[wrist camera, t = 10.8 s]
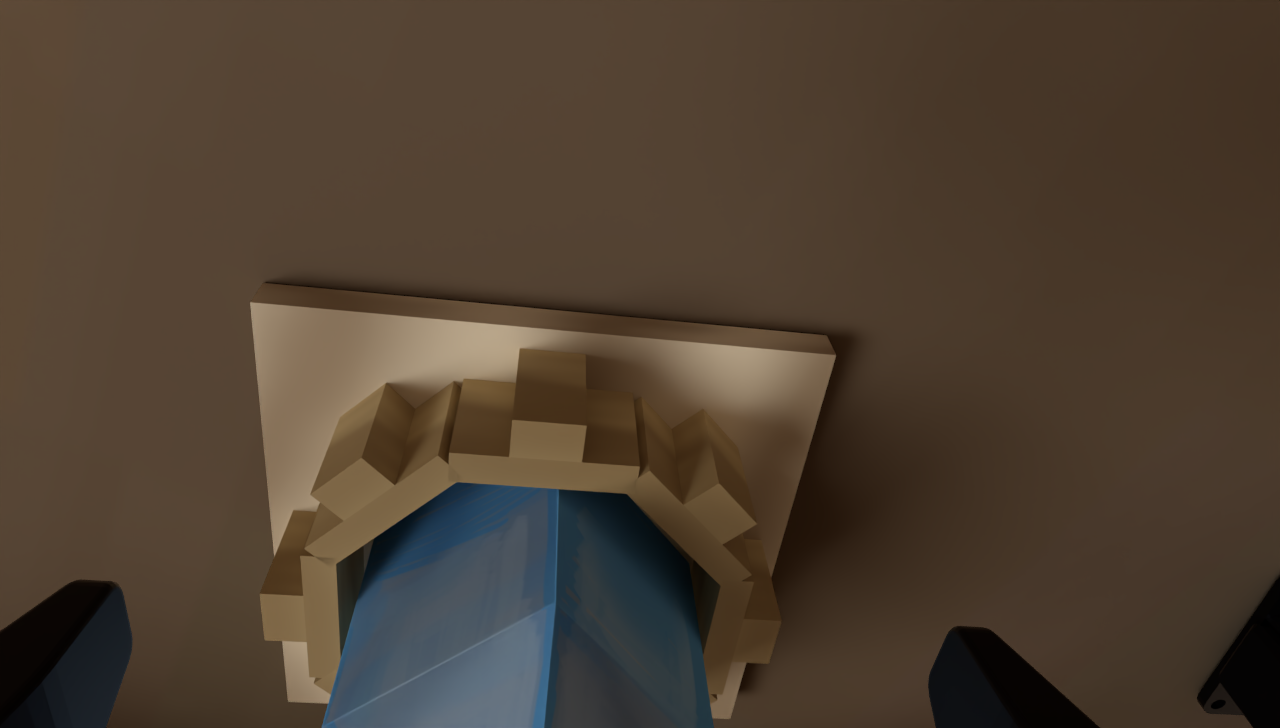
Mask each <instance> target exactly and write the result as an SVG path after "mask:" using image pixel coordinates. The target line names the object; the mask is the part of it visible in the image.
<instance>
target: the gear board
mask: <svg viewBox="0 0 1280 728" xmlns="http://www.w3.org/2000/svg"><path fill="white" fill-rule="evenodd" d="M250 305H251V316H252V326H253V337H254V347H255V358H256V368H257V379H258V390H259V400H260V411H261V421H262V432H263V442H264V453H265V463H266V474H267V485H268V495H269V506H270V516H271V527H272V537H273V548H274V559H273V562H272V564H271V567H270V569H269V572H268V574H267V577H266V579H265V582H264V584H263V587H262V589H261V592H260V602H261V611H262V620H263V629H264V638H265V640H269V641H282V643H283V653H284V664H285V674H286V685H287V696H288V702H305V703H329V699H330V696H331V692H332V689H333V685H334V681H335V678H336V674H337V670H338V667H339V663H340V660H341V656H342V652H343V649H344V645H345V642H346V638H347V634H348V631H349V627H350V624H351V620H352V616H353V613H354V609H355V605H356V602H357V598H358V595H359V591H360V587H361V584H362V580H363V577H364V573H365V569H366V566H367V562H368V558H369V555H370V551H371V548H372V544H373V540H374V538H375V537H377V536H378V535H380V534H381V533H383V532H384V531H385V530H387V529H388V528H390V527H391V526H393V525H394V524H396V523H397V522H399V521H400V520H402V519H403V518H405V517H406V516H408V515H409V514H411V513H412V512H413V511H415V510H416V509H418V508H419V507H421V506H422V505H424V504H425V503H427V502H428V501H430V500H431V499H433V498H434V497H436V496H437V495H439V494H440V493H441V492H443V491H444V490H446V489H447V488H449V487H450V486H452V485H453V484H455V483H456V482H462V483H477V484H491V485H506V486H521V487H535V488H550V489H564V490H579V491H593V492H608V493H622V494H627V495H628V496H629V497H630V498H631V499H632V500H633V501H634V502H635V504H636V505H637V506H638V507H639V508H640V509H641V510H642V511H643V512H644V514H645V515H646V516H647V517H648V518H649V519H650V520H651V521H652V522H653V524H654V525H655V526H656V527H657V528H658V529H659V530H660V531H661V532H662V534H663V535H664V536H665V537H666V538H667V539H668V540H669V541H670V542H671V544H672V545H673V546H674V547H675V548H676V549H677V550H678V551H679V552H680V554H681V555H682V556H683V557H684V558H685V559H686V560H687V561H688V562H689V566H690V572H691V579H692V586H693V592H694V599H695V606H696V612H697V619H698V626H699V632H700V639H701V646H702V652H703V659H704V666H705V672H706V679H707V686H708V692H709V699H710V706H711V712H712V718H721V719H730V717H731V714H732V711H733V707H734V704H735V700H736V697H737V693H738V690H739V687H740V683H741V680H742V676H743V673H744V669H745V666H746V663H765V664H769V661H770V658H771V655H772V651H773V648H774V645H775V642H776V639H777V635H778V632H779V629H780V626H781V622H782V620H781V616H780V612H779V608H778V604H777V600H776V596H775V592H774V588H773V584H772V580H771V577H772V574H773V570H774V567H775V563H776V560H777V556H778V553H779V550H780V546H781V543H782V539H783V536H784V532H785V529H786V526H787V522H788V519H789V515H790V512H791V508H792V505H793V502H794V498H795V495H796V491H797V488H798V484H799V481H800V478H801V474H802V471H803V467H804V464H805V460H806V457H807V454H808V450H809V447H810V443H811V440H812V437H813V433H814V430H815V426H816V423H817V419H818V416H819V413H820V409H821V406H822V402H823V399H824V395H825V392H826V389H827V385H828V382H829V378H830V375H831V371H832V368H833V365H834V361H835V358H836V354H835V352H834V350H833V348H832V345H831V343H830V341H829V339H828V337H827V335H817V334H806V333H796V332H785V331H774V330H764V329H753V328H742V327H731V326H721V325H710V324H699V323H689V322H678V321H667V320H656V319H646V318H635V317H624V316H614V315H603V314H592V313H581V312H571V311H560V310H549V309H539V308H528V307H517V306H506V305H496V304H485V303H474V302H464V301H453V300H442V299H431V298H421V297H410V296H399V295H388V294H378V293H367V292H356V291H346V290H335V289H324V288H313V287H303V286H292V285H281V284H271V283H263V284H262V285H261V287H260V288H259V290H258V291H257V293H256V294H255V296H254V297H253V299H252V300H251V302H250Z"/></svg>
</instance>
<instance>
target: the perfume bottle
mask: <svg viewBox="0 0 1280 728" xmlns="http://www.w3.org/2000/svg"><path fill="white" fill-rule="evenodd" d="M322 728H714V726H713V719H712V712H711V706H710V699H709V692H708V686H707V679H706V672H705V666H704V659H703V652H702V646H701V639H700V632H699V626H698V619H697V612H696V606H695V599H694V592H693V586H692V579H691V572H690V566H689V562H688V561H687V560H686V559H685V558H684V557H683V556H682V555H681V554H680V552H679V551H678V550H677V549H676V548H675V547H674V546H673V545H672V544H671V542H670V541H669V540H668V539H667V538H666V537H665V536H664V535H663V534H662V532H661V531H660V530H659V529H658V528H657V527H656V526H655V525H654V524H653V522H652V521H651V520H650V519H649V518H648V517H647V516H646V515H645V514H644V512H643V511H642V510H641V509H640V508H639V507H638V506H637V505H636V504H635V502H634V501H633V500H632V499H631V498H630V497H629V496H628V495H627V494H622V493H608V492H593V491H579V490H564V489H550V488H535V487H521V486H506V485H491V484H477V483H462V482H456V483H455V484H453V485H452V486H450V487H449V488H447V489H446V490H444V491H443V492H441V493H440V494H439V495H437V496H436V497H434V498H433V499H431V500H430V501H428V502H427V503H425V504H424V505H422V506H421V507H419V508H418V509H416V510H415V511H413V512H412V513H411V514H409V515H408V516H406V517H405V518H403V519H402V520H400V521H399V522H397V523H396V524H394V525H393V526H391V527H390V528H388V529H387V530H385V531H384V532H383V533H381V534H380V535H378V536H377V537H375V538H374V540H373V544H372V548H371V551H370V555H369V558H368V562H367V566H366V569H365V573H364V577H363V580H362V584H361V587H360V591H359V595H358V598H357V602H356V605H355V609H354V613H353V616H352V620H351V624H350V627H349V631H348V634H347V638H346V642H345V645H344V649H343V652H342V656H341V660H340V663H339V667H338V670H337V674H336V678H335V681H334V685H333V689H332V692H331V696H330V699H329V703H328V707H327V710H326V714H325V717H324V721H323V725H322Z"/></svg>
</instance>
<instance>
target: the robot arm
mask: <svg viewBox="0 0 1280 728" xmlns="http://www.w3.org/2000/svg"><path fill="white" fill-rule="evenodd" d="M131 651H132V633H131V628H130V623H129V619H128V614H127V610H126V605H125V600H124V596H123V592H122V589H121V587H120V586H119V585H118V584H117V583H115V582H112V581H97V580H76V581H73V582H71V583H69V584H67V585H65V586H64V587H62V588H61V589H60V590H58V591H57V592H55V593H54V594H52V595H51V596H50V597H48V598H47V599H45V600H44V601H42V602H41V603H40V604H38V605H37V606H35V607H34V608H32V609H31V610H30V611H28V612H27V613H25V614H24V615H22V616H21V617H20V618H18V619H17V620H15V621H14V622H12V623H11V624H10V625H8V626H7V627H5V628H4V629H2V630H1V631H0V728H106V726H107V723H108V720H109V717H110V714H111V711H112V708H113V706H114V703H115V700H116V697H117V694H118V691H119V688H120V685H121V683H122V680H123V677H124V674H125V671H126V668H127V665H128V663H129V659H130V655H131ZM928 688H929V697H930V702H931V706H932V711H933V716H934V721H935V726H936V728H1100V727H1099V726H1098V725H1096V724H1095V723H1094V722H1093V721H1092V720H1091V719H1090V718H1089V717H1088V716H1086V715H1085V714H1084V713H1083V712H1082V711H1081V710H1080V709H1079V708H1078V707H1076V706H1075V705H1074V704H1073V703H1072V702H1071V701H1070V700H1069V699H1068V698H1066V697H1065V696H1064V695H1063V694H1062V693H1061V692H1060V691H1059V690H1058V689H1056V688H1055V687H1054V686H1053V685H1052V684H1051V683H1050V682H1049V681H1048V680H1046V679H1045V678H1044V677H1043V676H1042V675H1041V674H1040V673H1039V672H1038V671H1036V670H1035V669H1034V668H1033V667H1032V666H1031V665H1030V664H1029V663H1028V662H1026V661H1025V660H1024V659H1023V658H1022V657H1021V656H1020V655H1019V654H1018V653H1016V652H1015V651H1014V650H1013V649H1012V648H1011V647H1010V646H1009V645H1008V644H1006V643H1005V642H1004V641H1003V640H1002V639H1001V638H1000V637H999V636H998V635H996V634H995V633H994V632H993V631H991V630H989V629H987V628H983V627H967V626H956V627H954V628H952V629H951V630H950V631H949V632H948V634H947V636H946V638H945V640H944V643H943V645H942V647H941V649H940V651H939V654H938V656H937V658H936V660H935V663H934V665H933V667H932V669H931V672H930V675H929V683H928ZM1197 700H1198V702H1199V704H1200V705H1201V706H1202V708H1203V709H1204V711H1206V712H1207V713H1211V714H1231V715H1244V716H1245V717H1246V719H1247V720H1248V721H1249V723H1250V724H1251V726H1252V727H1253V728H1280V578H1279V579H1278V580H1277V581H1276V582H1275V584H1274V585H1273V587H1272V588H1271V590H1270V591H1269V593H1268V594H1267V595H1266V597H1265V598H1264V600H1263V601H1262V603H1261V604H1260V606H1259V607H1258V609H1257V610H1256V611H1255V613H1254V614H1253V616H1252V617H1251V619H1250V620H1249V622H1248V623H1247V624H1246V626H1245V627H1244V629H1243V630H1242V632H1241V633H1240V635H1239V636H1238V638H1237V639H1236V640H1235V642H1234V643H1233V645H1232V646H1231V648H1230V649H1229V651H1228V652H1227V654H1226V655H1225V656H1224V658H1223V659H1222V661H1221V662H1220V664H1219V665H1218V667H1217V668H1216V670H1215V671H1214V672H1213V674H1212V675H1211V677H1210V678H1209V680H1208V681H1207V683H1206V684H1205V685H1204V687H1203V688H1202V690H1201V691H1200V693H1199V694H1198V697H1197Z"/></svg>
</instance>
